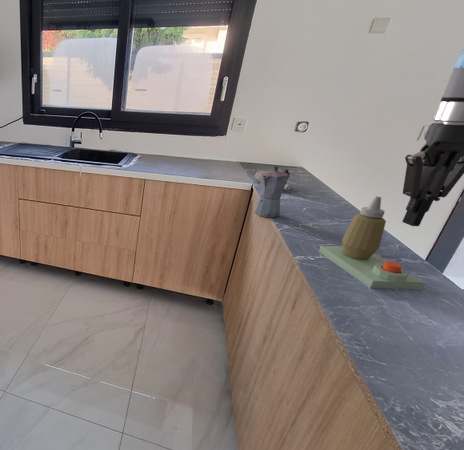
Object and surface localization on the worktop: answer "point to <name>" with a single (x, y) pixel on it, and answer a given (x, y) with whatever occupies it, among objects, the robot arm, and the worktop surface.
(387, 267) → the switch
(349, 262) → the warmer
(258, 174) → the decorative bottle
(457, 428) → the worktop surface
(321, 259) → the worktop surface
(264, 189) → the moka pot
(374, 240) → the squeeze bottle
